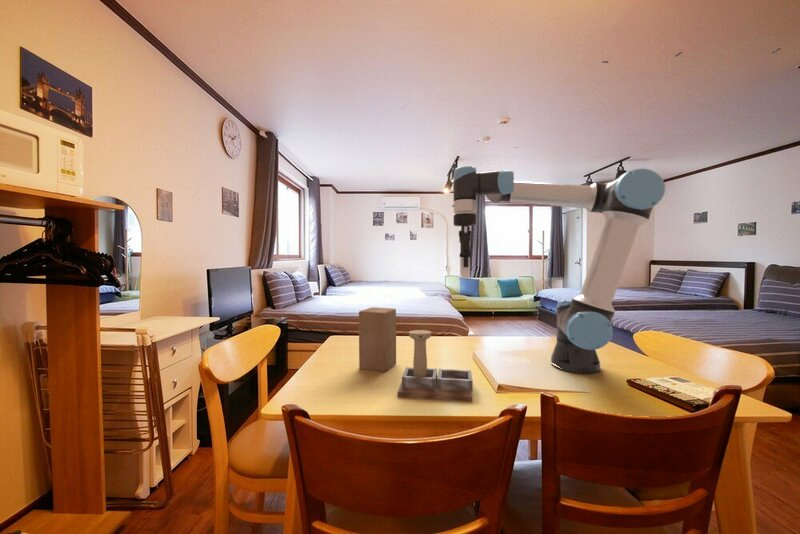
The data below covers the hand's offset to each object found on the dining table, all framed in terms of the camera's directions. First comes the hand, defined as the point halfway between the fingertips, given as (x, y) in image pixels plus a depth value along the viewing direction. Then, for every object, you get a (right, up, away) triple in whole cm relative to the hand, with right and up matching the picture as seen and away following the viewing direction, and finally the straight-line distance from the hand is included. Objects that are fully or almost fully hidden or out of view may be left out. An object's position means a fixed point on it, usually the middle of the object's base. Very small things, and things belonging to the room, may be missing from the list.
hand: (464, 276), depth 111 cm
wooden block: (-30, -32, +4) cm, 44 cm away
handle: (-16, -31, -16) cm, 38 cm away
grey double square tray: (-12, -32, -16) cm, 38 cm away
